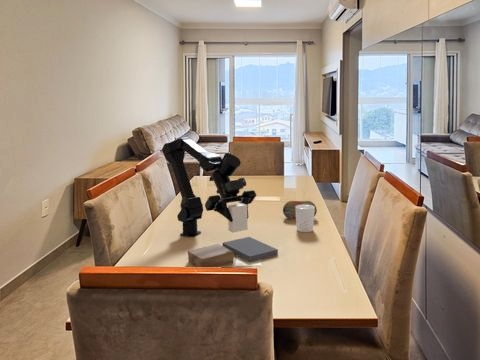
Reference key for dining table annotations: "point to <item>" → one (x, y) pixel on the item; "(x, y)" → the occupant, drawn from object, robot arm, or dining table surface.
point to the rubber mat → (250, 249)
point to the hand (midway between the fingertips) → (239, 219)
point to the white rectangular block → (238, 217)
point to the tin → (290, 208)
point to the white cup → (305, 217)
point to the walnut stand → (210, 256)
